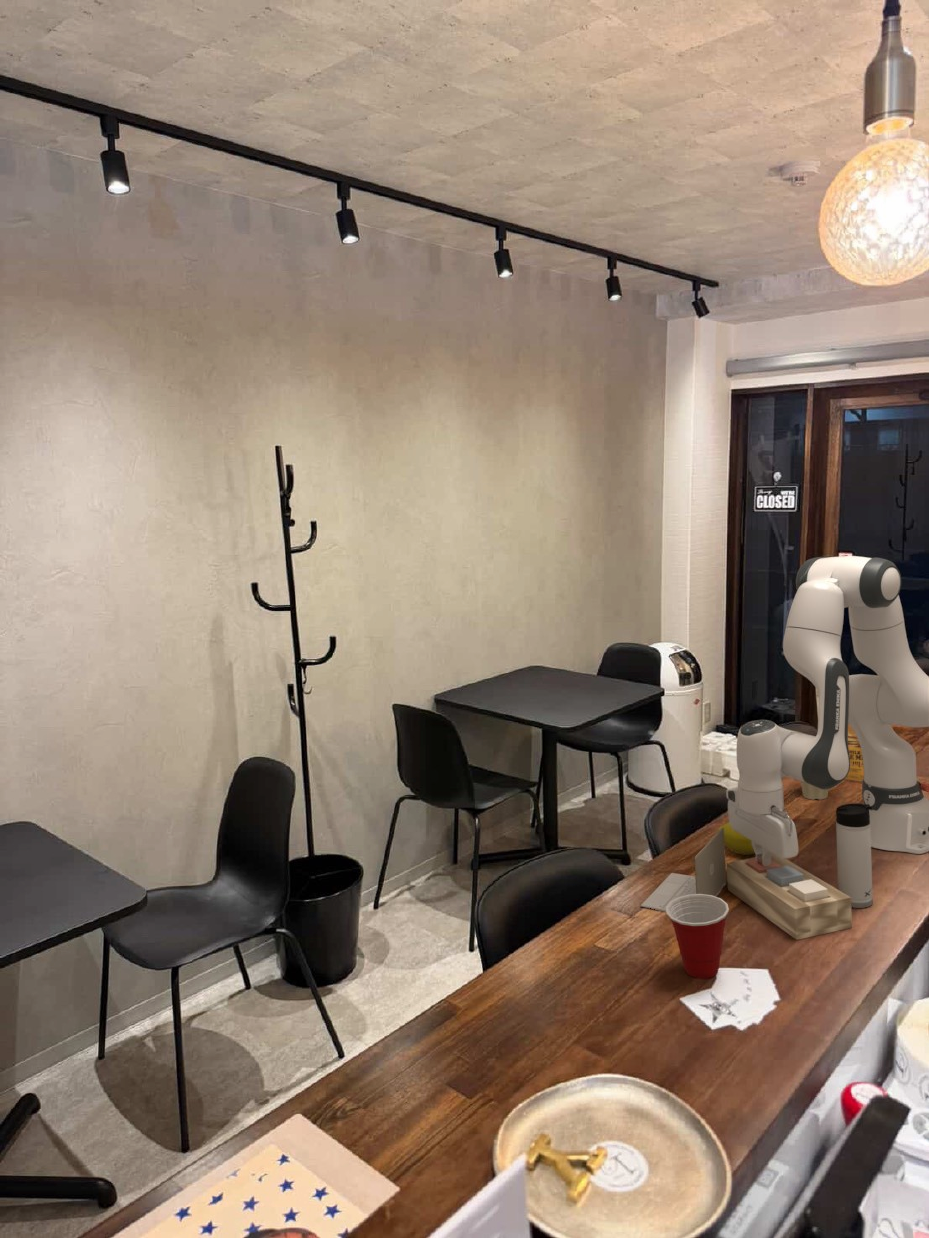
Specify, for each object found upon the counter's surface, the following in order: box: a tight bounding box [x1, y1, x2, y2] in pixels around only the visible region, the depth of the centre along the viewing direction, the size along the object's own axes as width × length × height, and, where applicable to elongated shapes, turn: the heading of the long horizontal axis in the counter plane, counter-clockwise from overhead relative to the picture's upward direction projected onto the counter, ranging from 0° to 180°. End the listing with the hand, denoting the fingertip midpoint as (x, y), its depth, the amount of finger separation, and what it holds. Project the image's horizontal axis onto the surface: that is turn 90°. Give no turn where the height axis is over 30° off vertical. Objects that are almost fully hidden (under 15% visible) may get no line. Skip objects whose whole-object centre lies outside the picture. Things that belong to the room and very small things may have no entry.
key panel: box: [726, 854, 853, 941], centre depth 177 cm, size 12×24×6 cm, turn 14°
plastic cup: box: [665, 894, 730, 979], centre depth 156 cm, size 11×11×12 cm
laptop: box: [640, 828, 727, 913], centre depth 186 cm, size 18×12×13 cm
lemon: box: [717, 821, 756, 856], centre depth 206 cm, size 11×8×8 cm
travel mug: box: [835, 802, 874, 909], centre depth 176 cm, size 6×7×20 cm
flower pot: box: [800, 781, 829, 801], centre depth 240 cm, size 9×9×9 cm
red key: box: [746, 860, 781, 873], centre depth 184 cm, size 5×5×3 cm
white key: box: [789, 879, 828, 903], centre depth 169 cm, size 5×5×3 cm
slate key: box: [767, 865, 804, 887], centre depth 177 cm, size 5×5×3 cm
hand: (763, 863), depth 184 cm, fingers closed, pressing on red key
